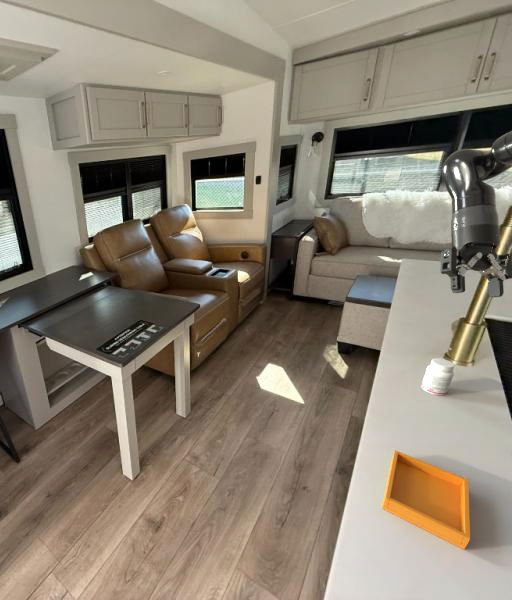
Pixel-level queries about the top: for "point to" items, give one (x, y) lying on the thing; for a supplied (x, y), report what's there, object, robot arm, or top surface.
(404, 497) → the amber tray
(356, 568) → the top surface
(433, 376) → the pill bottle
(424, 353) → the top surface
